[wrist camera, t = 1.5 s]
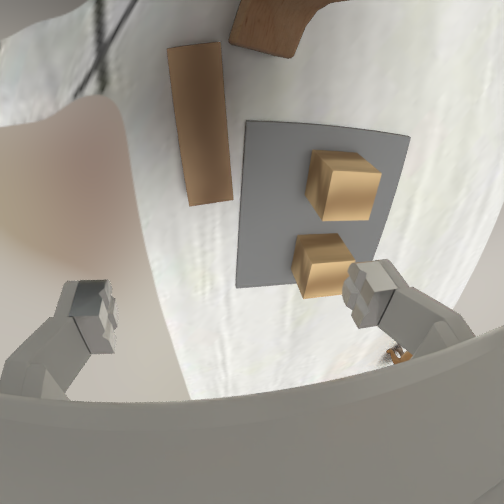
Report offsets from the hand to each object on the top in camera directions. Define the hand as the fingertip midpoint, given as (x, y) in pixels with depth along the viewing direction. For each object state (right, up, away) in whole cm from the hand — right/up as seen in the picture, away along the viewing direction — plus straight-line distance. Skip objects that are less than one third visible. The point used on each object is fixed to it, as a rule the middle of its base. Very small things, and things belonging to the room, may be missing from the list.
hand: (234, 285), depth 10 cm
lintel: (-4, +13, +16) cm, 21 cm away
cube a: (+9, +9, +21) cm, 24 cm away
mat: (+8, +5, +24) cm, 26 cm away
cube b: (+8, +1, +27) cm, 28 cm away
